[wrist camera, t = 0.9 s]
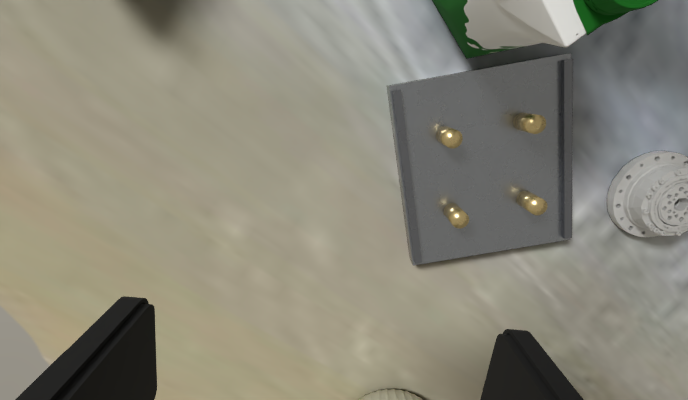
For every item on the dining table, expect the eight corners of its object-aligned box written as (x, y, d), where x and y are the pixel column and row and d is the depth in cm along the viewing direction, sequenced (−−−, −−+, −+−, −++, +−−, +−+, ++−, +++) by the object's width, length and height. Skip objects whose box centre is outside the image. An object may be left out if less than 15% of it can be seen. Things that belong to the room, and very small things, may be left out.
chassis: (386, 85, 40) (393, 86, 35) (559, 54, 39) (590, 50, 34) (409, 257, 45) (418, 278, 41) (560, 232, 45) (587, 250, 40)
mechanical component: (646, 133, 42) (586, 207, 44) (681, 139, 38) (613, 220, 40) (709, 177, 44) (649, 246, 46) (750, 187, 39) (680, 263, 42)
